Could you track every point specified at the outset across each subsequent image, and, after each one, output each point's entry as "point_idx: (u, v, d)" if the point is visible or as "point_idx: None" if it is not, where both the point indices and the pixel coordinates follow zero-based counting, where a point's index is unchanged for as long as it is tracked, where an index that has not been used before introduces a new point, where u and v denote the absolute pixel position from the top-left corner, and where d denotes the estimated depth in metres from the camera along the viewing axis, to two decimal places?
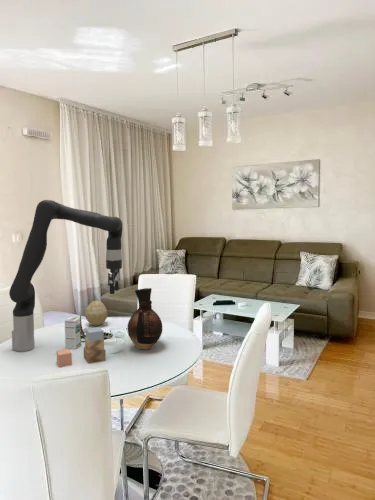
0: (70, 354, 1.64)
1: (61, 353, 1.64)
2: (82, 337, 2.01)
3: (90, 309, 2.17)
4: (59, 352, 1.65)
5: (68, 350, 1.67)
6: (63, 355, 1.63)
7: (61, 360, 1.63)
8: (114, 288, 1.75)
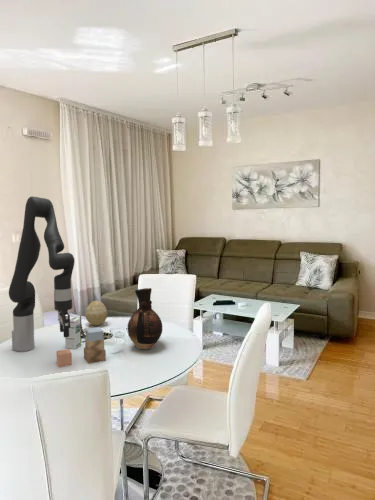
0: (70, 354, 1.64)
1: (61, 353, 1.64)
2: (82, 337, 2.01)
3: (90, 309, 2.17)
4: (59, 352, 1.65)
5: (68, 350, 1.67)
6: (63, 355, 1.63)
7: (61, 360, 1.63)
8: None
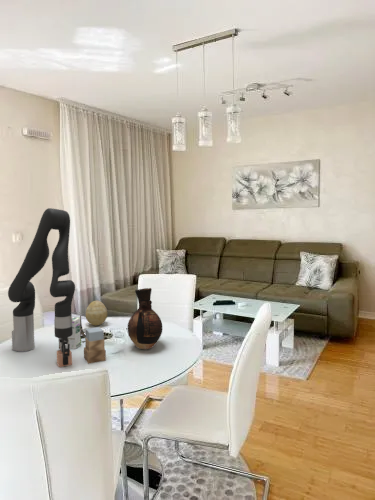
0: (70, 354, 1.64)
1: (61, 353, 1.64)
2: (82, 337, 2.01)
3: (90, 309, 2.17)
4: (59, 351, 1.65)
5: None
6: None
7: (62, 360, 1.63)
8: None
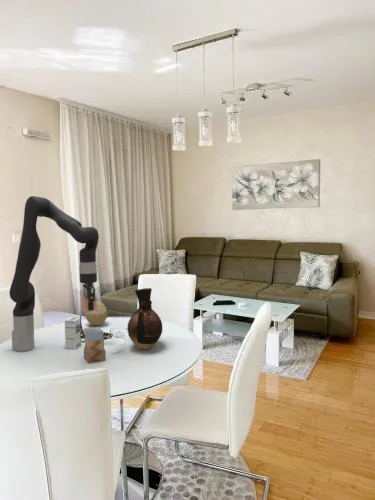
0: (95, 300, 1.66)
1: (86, 299, 1.66)
2: (82, 337, 2.01)
3: None
4: (84, 298, 1.68)
5: None
6: None
7: (87, 306, 1.65)
8: None
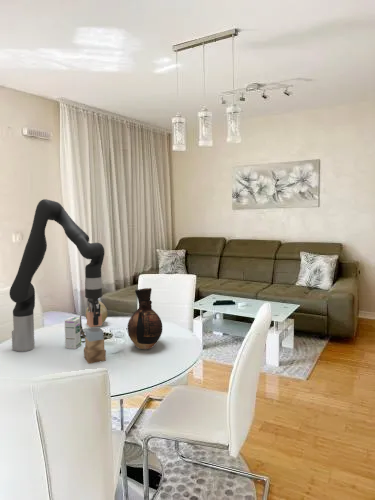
0: (100, 315, 1.68)
1: (92, 314, 1.68)
2: (82, 337, 2.01)
3: None
4: (89, 313, 1.70)
5: None
6: None
7: (92, 321, 1.67)
8: None
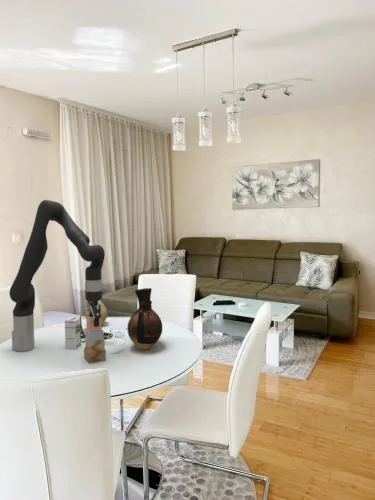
0: (100, 320, 1.69)
1: (91, 319, 1.68)
2: (82, 337, 2.01)
3: None
4: (89, 318, 1.70)
5: None
6: None
7: (92, 326, 1.67)
8: (89, 316, 1.73)
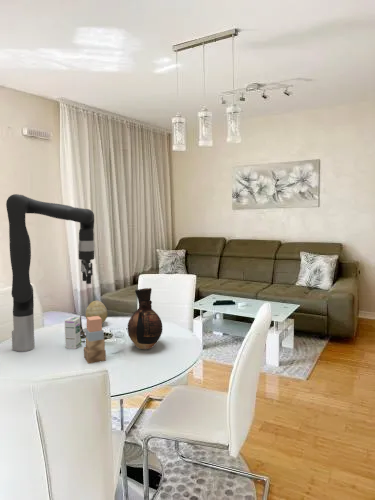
0: (100, 320, 1.69)
1: (91, 319, 1.68)
2: (82, 337, 2.01)
3: (90, 309, 2.17)
4: (89, 318, 1.70)
5: (98, 316, 1.72)
6: (94, 320, 1.67)
7: (92, 326, 1.67)
8: (82, 275, 1.87)
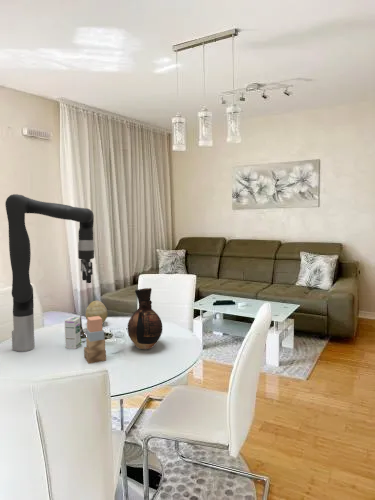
0: (101, 320, 1.69)
1: (92, 319, 1.68)
2: (82, 337, 2.01)
3: (90, 309, 2.17)
4: (89, 318, 1.70)
5: (98, 317, 1.72)
6: (94, 321, 1.67)
7: (93, 326, 1.67)
8: (82, 275, 1.88)
